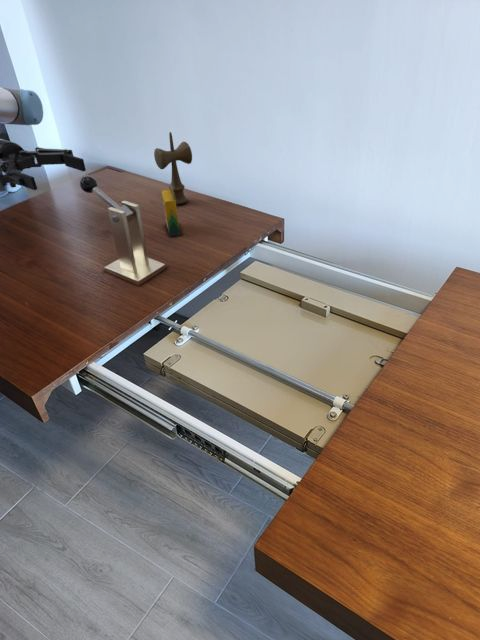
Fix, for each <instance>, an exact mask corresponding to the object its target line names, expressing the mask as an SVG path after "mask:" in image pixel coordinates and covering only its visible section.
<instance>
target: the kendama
mask: <svg viewBox="0 0 480 640" xmlns="http://www.w3.org/2000/svg"><path fill="white" fill-rule="evenodd" d="M168 134H169V136H168V137H169V138H168V139H169V148H170V150H165V149H161V148H159V147H156V148H155V149H154V152H153V156H154V161H155V164H156V165H157V167H158V168H159V169H160V170H164V169H166V168H167V167H168V166H169V165H170V164H171V179H170V180H171V181H170V183H171V184H169V185H168V190H172V189H173V192H174V195H175V200H176V206H178V205H184V204H186V203H187V202H188V198H187V196H185V193H184V191H185V185H184V184H183V182H182V180H181V177H180V173H179V169H178V164H177V161H180V162H182V163H183V164H187V165H190V164H192V162H193V153H192V152H193V151H192V148H191V147H190V145H189V143H188V142H187V141H182V142H181V143H179V144H178V146H177V147H176V148H175V146H174V139H173V134H172V132H171V131H169V132H168ZM171 185H172V189H171Z"/></svg>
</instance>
